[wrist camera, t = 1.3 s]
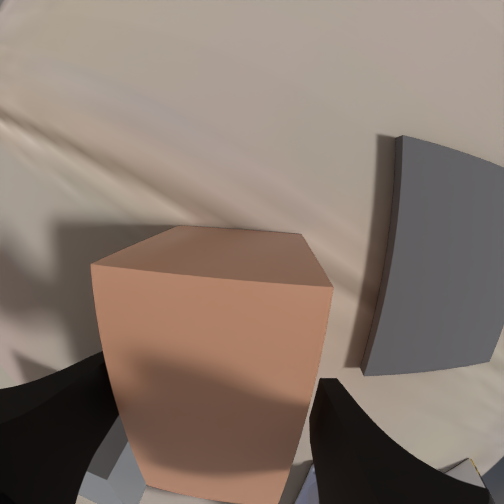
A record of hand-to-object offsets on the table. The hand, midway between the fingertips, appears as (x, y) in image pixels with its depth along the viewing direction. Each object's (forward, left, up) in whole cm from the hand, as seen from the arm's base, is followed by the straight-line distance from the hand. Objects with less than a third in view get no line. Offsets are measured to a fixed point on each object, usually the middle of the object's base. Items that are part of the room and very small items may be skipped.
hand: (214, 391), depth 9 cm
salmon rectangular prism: (0, 0, -5) cm, 5 cm away
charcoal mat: (+4, -12, -5) cm, 14 cm away
